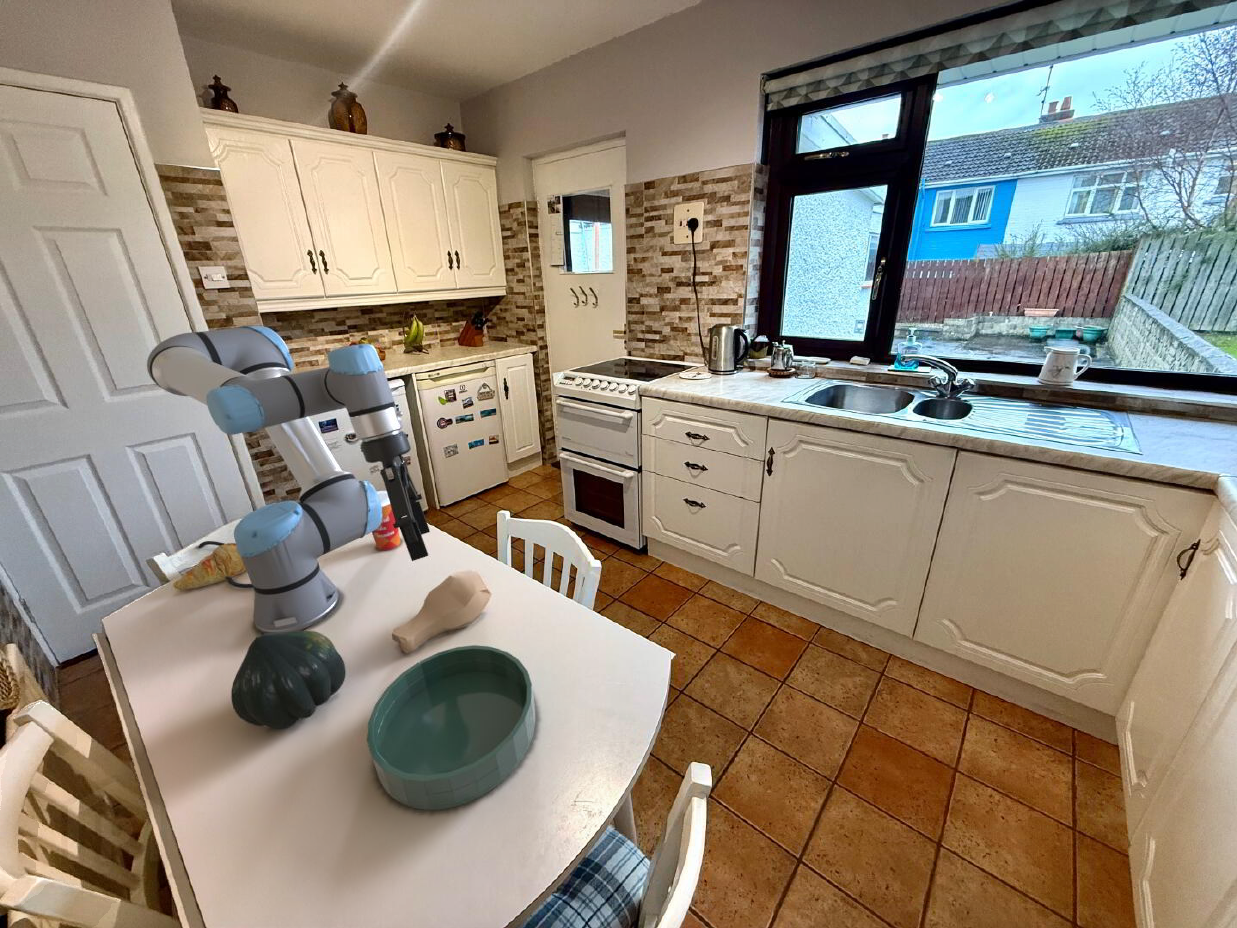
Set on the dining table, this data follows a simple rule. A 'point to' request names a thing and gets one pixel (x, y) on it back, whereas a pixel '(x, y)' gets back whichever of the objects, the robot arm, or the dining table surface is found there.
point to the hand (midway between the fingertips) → (421, 545)
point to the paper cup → (386, 526)
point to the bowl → (452, 727)
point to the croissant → (213, 568)
